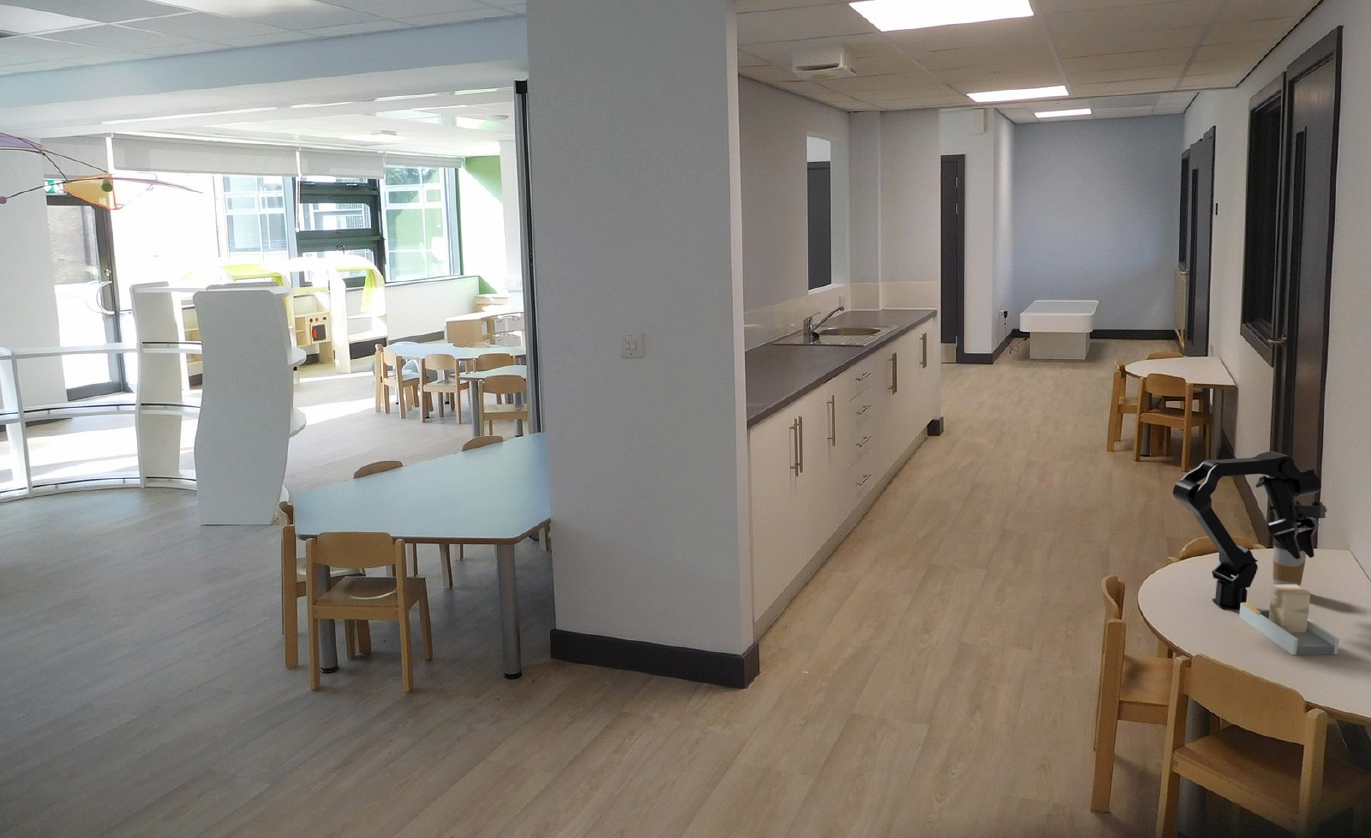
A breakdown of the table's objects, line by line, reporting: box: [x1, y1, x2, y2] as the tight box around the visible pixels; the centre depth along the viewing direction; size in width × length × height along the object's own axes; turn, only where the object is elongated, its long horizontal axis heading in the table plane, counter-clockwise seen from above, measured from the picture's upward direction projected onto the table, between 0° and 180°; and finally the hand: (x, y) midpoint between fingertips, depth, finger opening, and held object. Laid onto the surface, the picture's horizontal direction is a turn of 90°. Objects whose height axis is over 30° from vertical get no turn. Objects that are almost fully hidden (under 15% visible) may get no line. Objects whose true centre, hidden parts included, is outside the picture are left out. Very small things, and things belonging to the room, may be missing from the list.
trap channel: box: [1238, 602, 1340, 656], centre depth 267 cm, size 24×11×4 cm, turn 1°
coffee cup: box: [1272, 538, 1307, 587], centre depth 296 cm, size 8×8×15 cm
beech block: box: [1268, 584, 1311, 632], centre depth 266 cm, size 6×6×10 cm
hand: (1305, 558), depth 278 cm, fingers open, 9 cm apart
